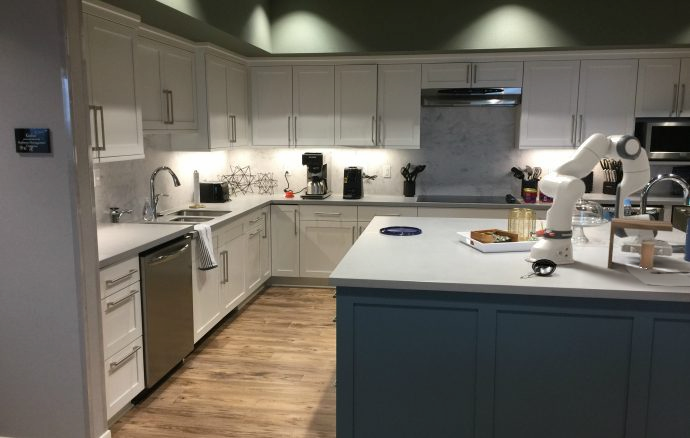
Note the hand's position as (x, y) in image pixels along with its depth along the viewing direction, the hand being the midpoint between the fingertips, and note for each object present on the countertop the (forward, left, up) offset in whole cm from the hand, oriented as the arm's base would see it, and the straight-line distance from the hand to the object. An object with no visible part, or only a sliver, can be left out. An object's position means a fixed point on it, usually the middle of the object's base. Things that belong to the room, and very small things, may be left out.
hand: (646, 252), depth 248 cm
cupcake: (+2, +58, -7) cm, 59 cm away
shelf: (-5, +1, -6) cm, 8 cm away
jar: (-2, -2, -7) cm, 7 cm away
